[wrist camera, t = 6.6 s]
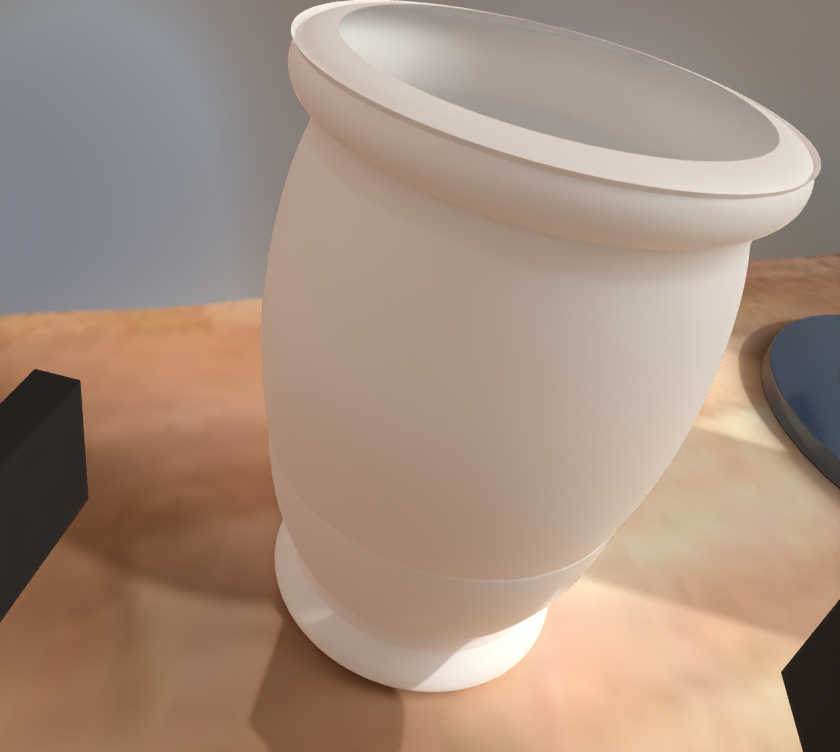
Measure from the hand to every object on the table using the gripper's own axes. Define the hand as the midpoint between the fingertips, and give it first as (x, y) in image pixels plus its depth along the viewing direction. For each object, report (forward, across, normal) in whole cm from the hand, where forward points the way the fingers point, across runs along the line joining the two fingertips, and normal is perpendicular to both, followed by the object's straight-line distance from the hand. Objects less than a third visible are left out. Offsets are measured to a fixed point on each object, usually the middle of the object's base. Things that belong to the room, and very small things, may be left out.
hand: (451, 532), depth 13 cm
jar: (+7, 0, -9) cm, 11 cm away
